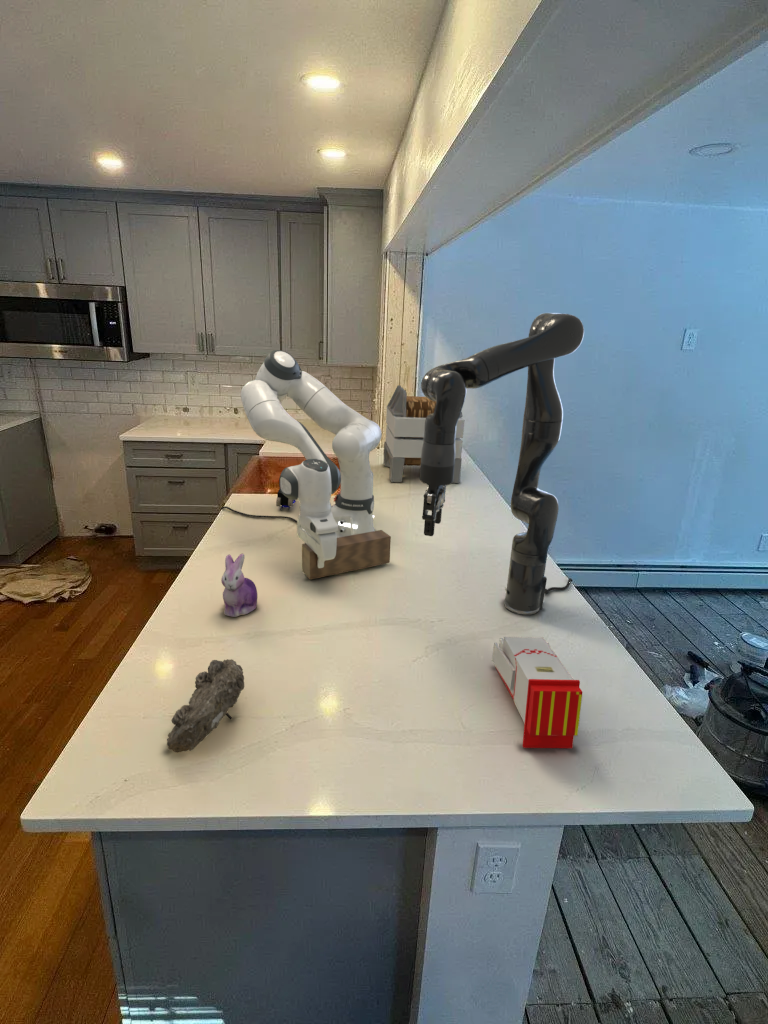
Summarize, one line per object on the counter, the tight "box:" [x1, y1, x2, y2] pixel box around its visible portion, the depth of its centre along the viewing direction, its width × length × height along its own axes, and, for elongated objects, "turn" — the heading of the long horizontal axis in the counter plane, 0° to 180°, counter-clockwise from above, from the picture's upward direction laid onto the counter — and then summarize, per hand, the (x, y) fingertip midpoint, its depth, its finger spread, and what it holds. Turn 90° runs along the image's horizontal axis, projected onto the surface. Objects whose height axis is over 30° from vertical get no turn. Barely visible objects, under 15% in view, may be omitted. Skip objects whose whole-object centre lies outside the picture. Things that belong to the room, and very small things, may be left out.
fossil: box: [166, 658, 245, 754], centre depth 106 cm, size 22×10×15 cm
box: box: [301, 529, 392, 581], centre depth 169 cm, size 26×6×9 cm, turn 120°
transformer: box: [383, 384, 465, 484], centre depth 268 cm, size 34×33×41 cm
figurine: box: [220, 553, 258, 618], centre depth 144 cm, size 9×10×15 cm
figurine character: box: [275, 488, 297, 511], centre depth 221 cm, size 7×8×15 cm
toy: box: [491, 636, 583, 749], centre depth 115 cm, size 12×13×30 cm
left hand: (315, 562), depth 164 cm, fingers closed on box, 6 cm apart
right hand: (432, 528), depth 132 cm, fingers open, 8 cm apart
